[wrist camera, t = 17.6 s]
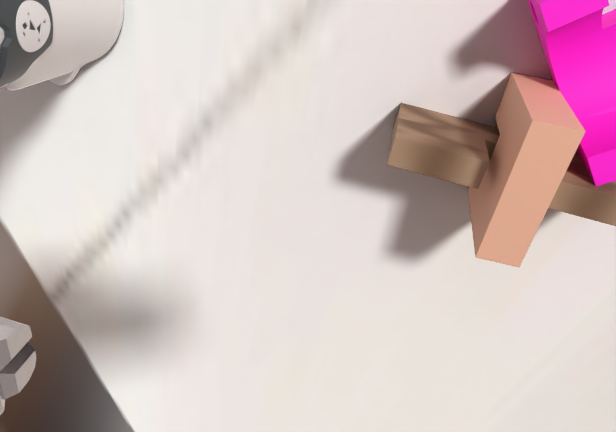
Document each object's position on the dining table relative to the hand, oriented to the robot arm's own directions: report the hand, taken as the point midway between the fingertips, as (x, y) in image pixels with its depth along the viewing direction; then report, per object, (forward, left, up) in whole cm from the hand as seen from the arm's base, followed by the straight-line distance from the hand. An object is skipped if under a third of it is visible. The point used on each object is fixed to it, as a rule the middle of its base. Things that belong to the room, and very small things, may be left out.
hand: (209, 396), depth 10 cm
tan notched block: (+14, -8, -39) cm, 42 cm away
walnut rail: (+14, -8, -39) cm, 42 cm away
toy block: (+18, +1, -40) cm, 43 cm away
